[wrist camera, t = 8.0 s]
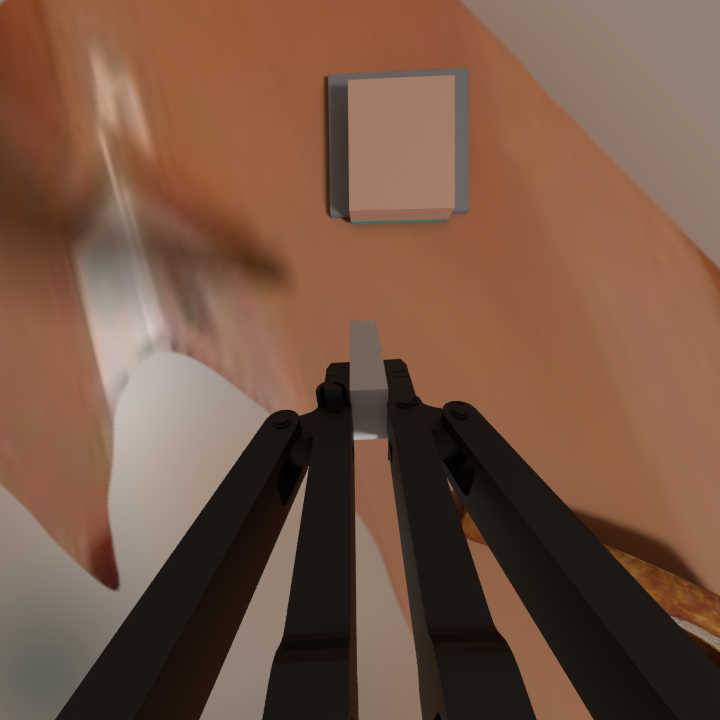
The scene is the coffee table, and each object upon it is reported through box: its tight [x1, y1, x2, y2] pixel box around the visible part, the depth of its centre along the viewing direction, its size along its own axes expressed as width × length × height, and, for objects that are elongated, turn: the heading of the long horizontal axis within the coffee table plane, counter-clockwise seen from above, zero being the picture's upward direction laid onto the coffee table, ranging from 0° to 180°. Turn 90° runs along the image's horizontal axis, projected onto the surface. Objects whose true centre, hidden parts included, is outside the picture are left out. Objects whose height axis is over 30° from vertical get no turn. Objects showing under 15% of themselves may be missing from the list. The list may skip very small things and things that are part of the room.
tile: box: [348, 75, 455, 224], centre depth 25 cm, size 9×2×11 cm
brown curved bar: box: [458, 505, 720, 652], centre depth 25 cm, size 33×8×10 cm, turn 53°
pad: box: [328, 68, 468, 218], centre depth 26 cm, size 13×13×1 cm
